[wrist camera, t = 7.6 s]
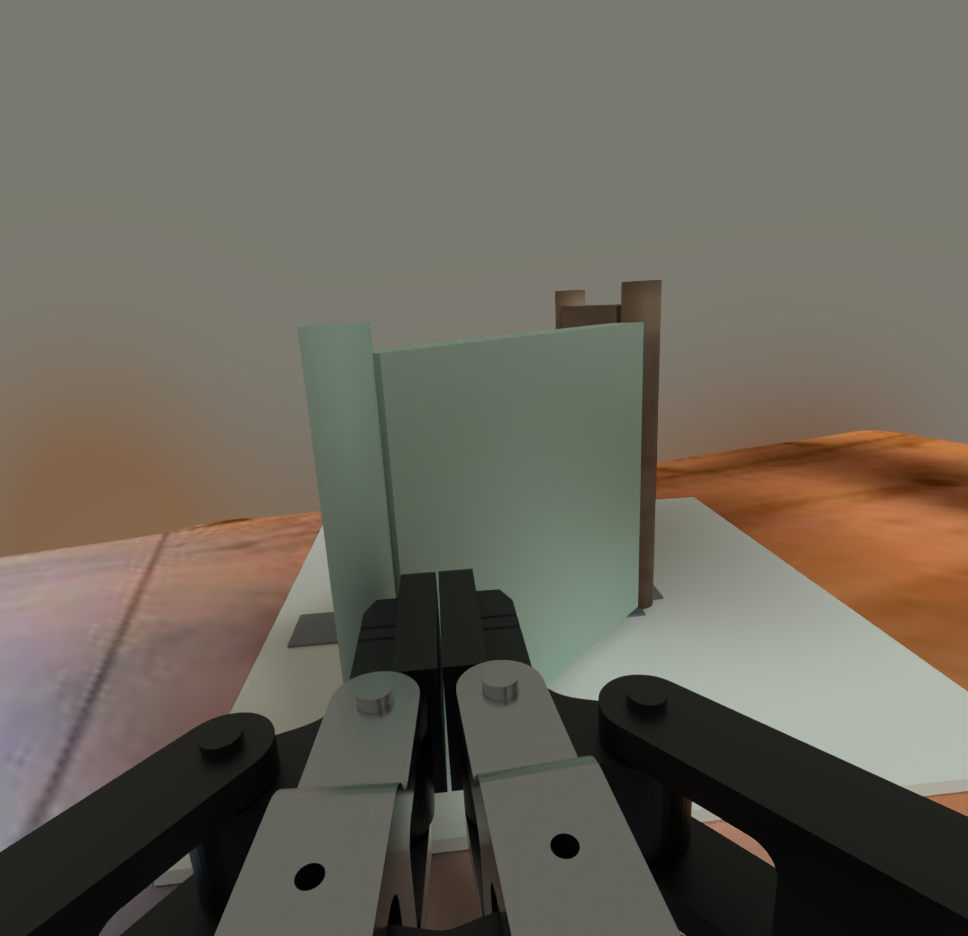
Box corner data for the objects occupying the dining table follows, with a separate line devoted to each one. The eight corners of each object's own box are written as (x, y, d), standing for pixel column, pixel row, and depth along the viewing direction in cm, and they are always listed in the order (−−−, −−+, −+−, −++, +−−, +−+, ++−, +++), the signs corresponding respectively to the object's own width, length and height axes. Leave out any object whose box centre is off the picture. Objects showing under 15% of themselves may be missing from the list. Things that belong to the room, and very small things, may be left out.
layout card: (693, 503, 38) (693, 495, 38) (1069, 778, 16) (1073, 762, 15) (323, 531, 36) (322, 523, 36) (154, 886, 14) (150, 868, 14)
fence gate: (608, 597, 25) (610, 306, 22) (640, 607, 24) (646, 304, 21) (347, 806, 15) (283, 327, 12) (384, 835, 14) (326, 326, 11)
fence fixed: (582, 506, 37) (580, 290, 33) (660, 608, 24) (670, 279, 21) (556, 508, 37) (552, 291, 33) (621, 611, 24) (625, 281, 21)
